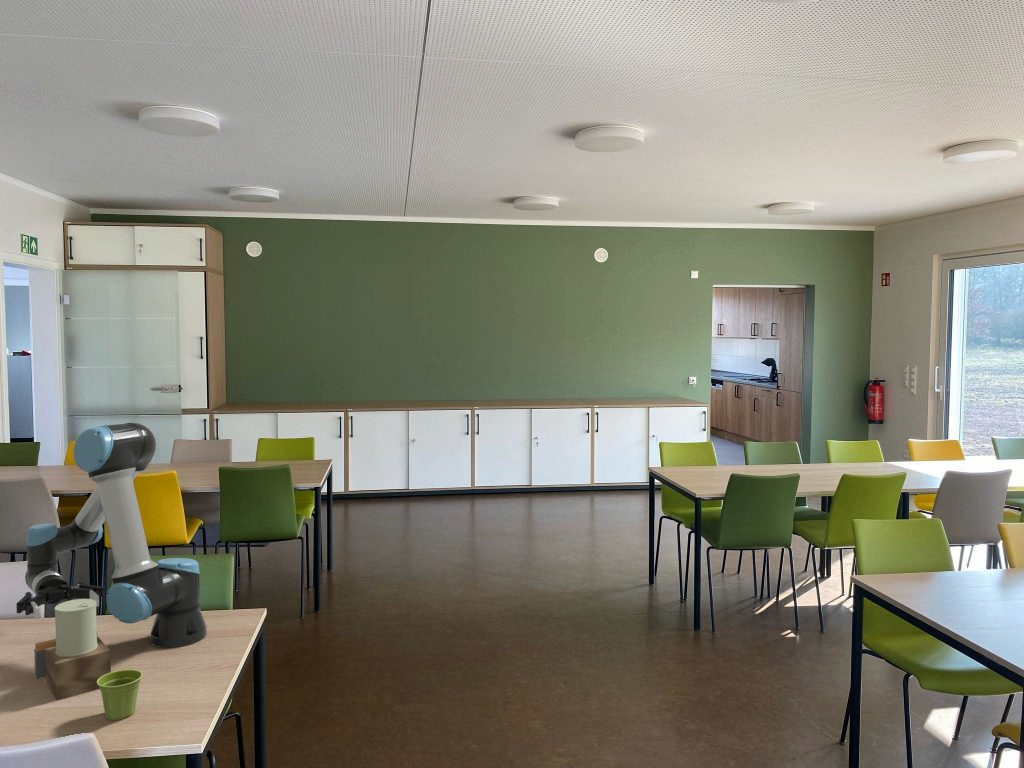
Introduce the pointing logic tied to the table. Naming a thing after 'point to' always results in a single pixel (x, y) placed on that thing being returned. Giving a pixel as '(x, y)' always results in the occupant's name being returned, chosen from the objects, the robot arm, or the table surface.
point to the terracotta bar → (45, 645)
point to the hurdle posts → (40, 663)
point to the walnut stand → (76, 671)
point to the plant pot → (119, 692)
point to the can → (75, 627)
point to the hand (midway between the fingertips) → (68, 607)
